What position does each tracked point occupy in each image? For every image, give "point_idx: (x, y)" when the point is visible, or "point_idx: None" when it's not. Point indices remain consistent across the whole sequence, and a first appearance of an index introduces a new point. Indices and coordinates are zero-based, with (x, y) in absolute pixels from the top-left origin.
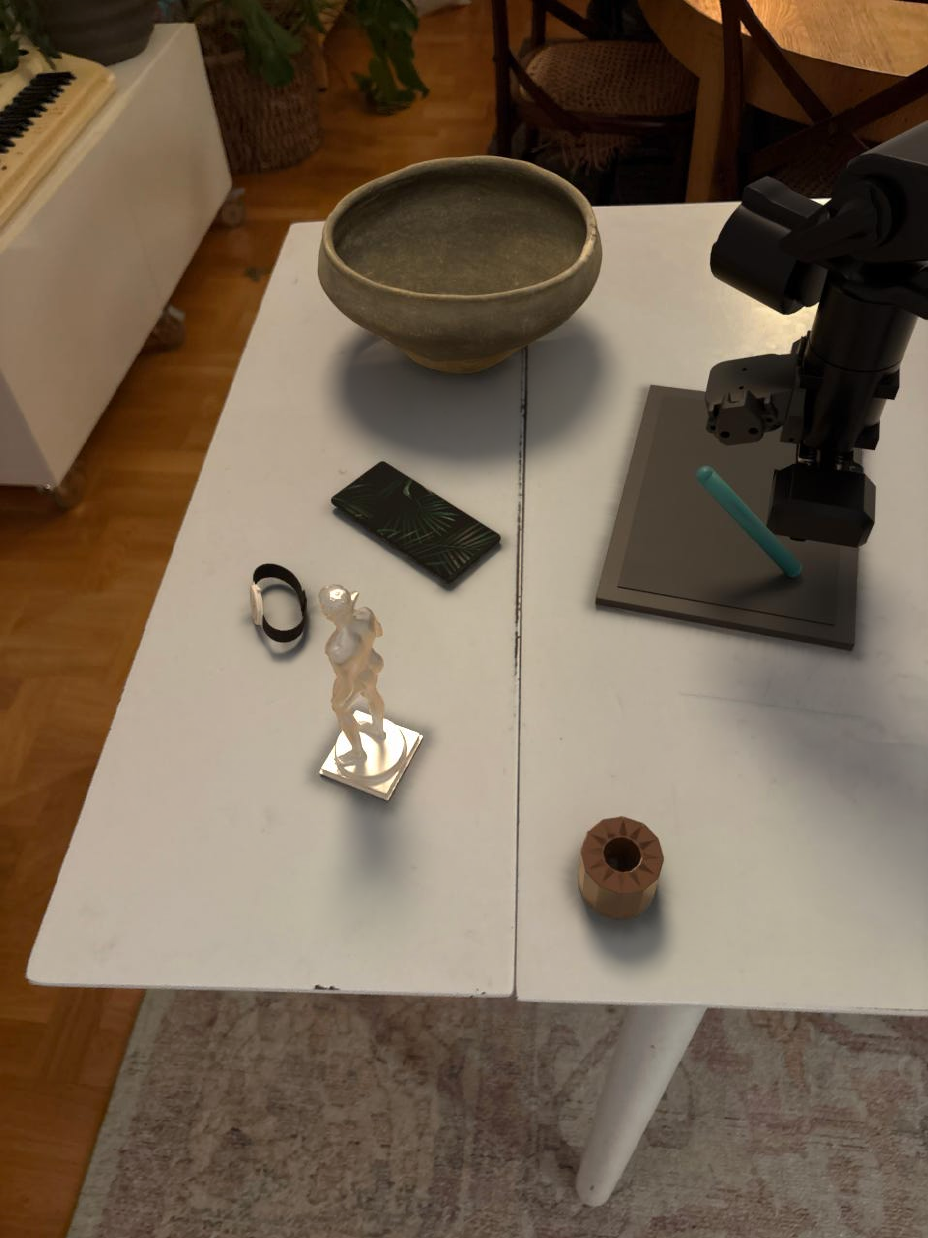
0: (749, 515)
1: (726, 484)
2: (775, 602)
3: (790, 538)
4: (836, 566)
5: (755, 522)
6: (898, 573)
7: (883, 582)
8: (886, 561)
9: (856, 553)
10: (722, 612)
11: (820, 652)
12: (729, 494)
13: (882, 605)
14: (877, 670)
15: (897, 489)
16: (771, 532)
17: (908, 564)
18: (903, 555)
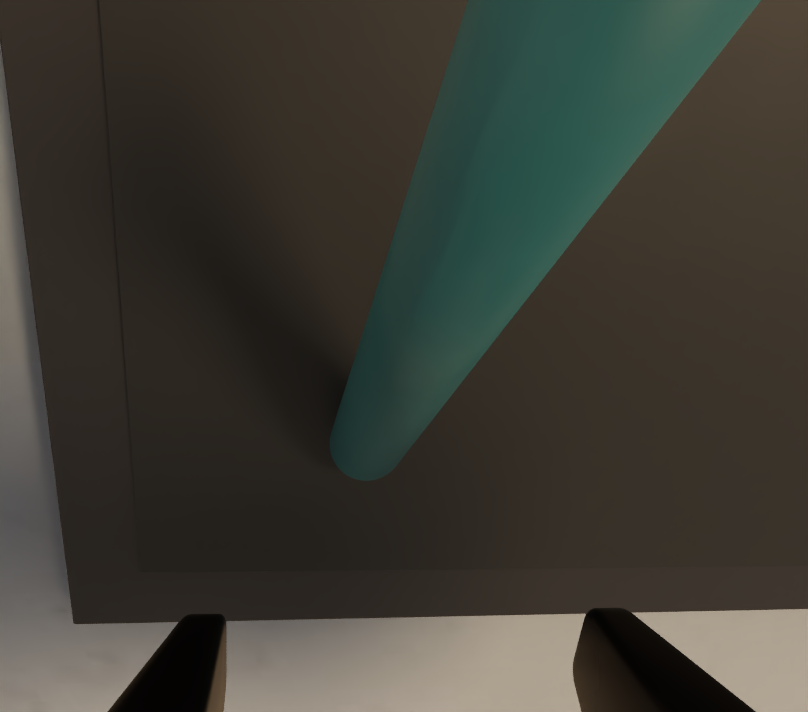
0: (423, 327)
1: (648, 99)
2: (193, 375)
3: (181, 624)
4: (429, 563)
5: (409, 355)
6: (452, 688)
7: (410, 657)
8: (498, 660)
9: (502, 610)
10: (63, 148)
11: (46, 511)
12: (508, 150)
13: (313, 658)
14: (34, 657)
15: (793, 673)
16: (423, 417)
17: (491, 707)
18: (526, 695)
